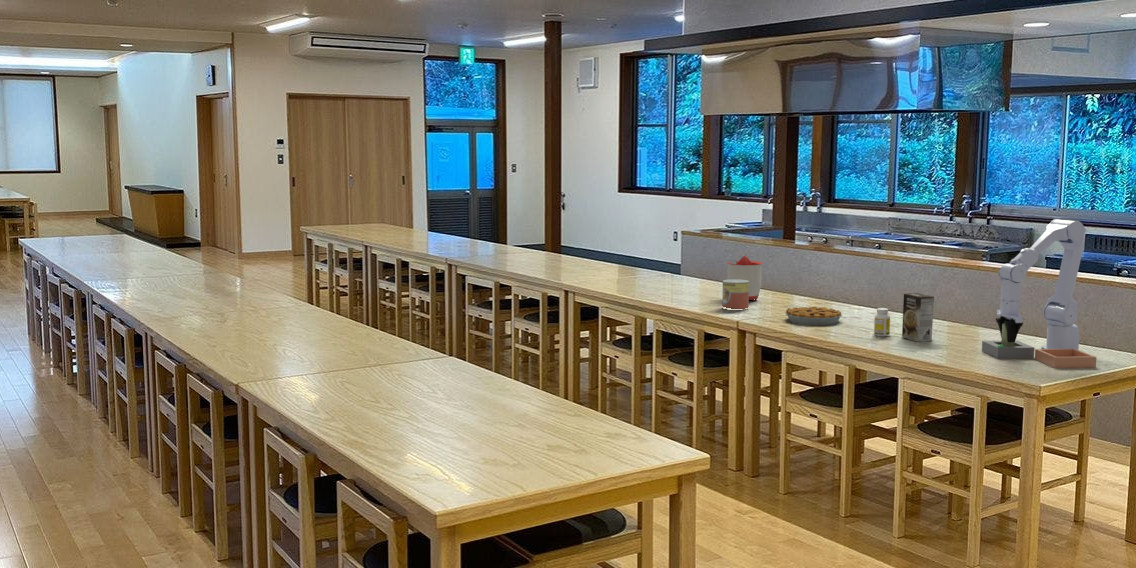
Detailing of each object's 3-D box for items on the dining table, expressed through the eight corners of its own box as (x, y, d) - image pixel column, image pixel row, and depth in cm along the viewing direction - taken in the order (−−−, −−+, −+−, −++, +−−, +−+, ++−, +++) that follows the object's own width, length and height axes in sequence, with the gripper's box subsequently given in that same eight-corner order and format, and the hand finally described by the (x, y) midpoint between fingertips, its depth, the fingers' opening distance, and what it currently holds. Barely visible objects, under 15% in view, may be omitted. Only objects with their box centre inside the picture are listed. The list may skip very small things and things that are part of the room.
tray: (1074, 358, 328) (1074, 348, 327) (1095, 367, 315) (1096, 357, 315) (1034, 359, 328) (1035, 349, 327) (1054, 367, 315) (1055, 357, 314)
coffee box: (901, 337, 365) (902, 293, 363) (915, 336, 368) (917, 292, 365) (918, 342, 357) (919, 296, 355) (932, 340, 359) (934, 295, 357)
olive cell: (1010, 346, 337) (1012, 321, 335) (1016, 349, 333) (1017, 323, 332) (998, 346, 337) (1000, 321, 335) (1004, 349, 333) (1005, 323, 331)
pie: (793, 326, 389) (793, 314, 388) (779, 317, 411) (779, 305, 410) (849, 326, 390) (849, 313, 389) (832, 316, 411) (832, 304, 411)
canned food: (716, 307, 434) (717, 280, 432) (738, 305, 439) (739, 278, 437) (731, 311, 424) (732, 283, 422) (754, 309, 429) (754, 281, 427)
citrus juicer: (739, 295, 468) (739, 252, 465) (768, 299, 455) (769, 255, 452) (716, 299, 458) (717, 255, 455) (746, 303, 445) (747, 258, 442)
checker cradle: (1016, 350, 341) (1017, 338, 340) (1033, 358, 329) (1034, 345, 329) (981, 351, 341) (982, 339, 340) (997, 358, 329) (998, 346, 328)
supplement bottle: (886, 333, 373) (887, 307, 371) (891, 336, 367) (892, 309, 366) (871, 333, 372) (872, 307, 371) (876, 336, 367) (877, 310, 366)
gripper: (988, 297, 340) (986, 336, 341) (1008, 303, 325) (1006, 345, 327) (1009, 296, 340) (1007, 336, 342) (1030, 303, 325) (1027, 344, 327)
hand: (1008, 340), depth 334 cm, fingers closed on olive cell, 4 cm apart
